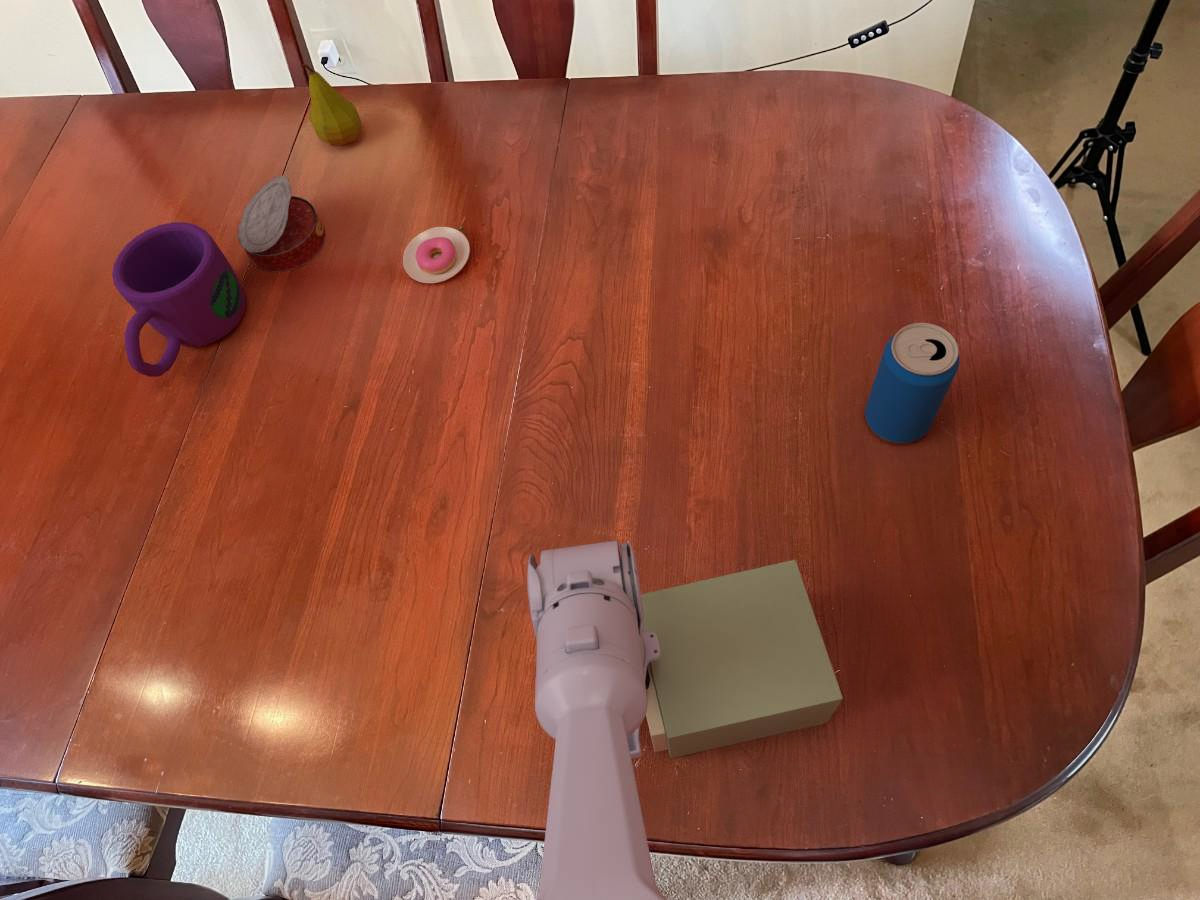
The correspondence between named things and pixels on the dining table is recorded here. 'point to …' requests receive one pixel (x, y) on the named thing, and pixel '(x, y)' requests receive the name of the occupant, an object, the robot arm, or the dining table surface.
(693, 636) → the cabinet
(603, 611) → the robot arm
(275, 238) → the canned food
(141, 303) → the mug
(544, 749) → the dining table surface
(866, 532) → the dining table surface
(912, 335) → the beverage can
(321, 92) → the fruit
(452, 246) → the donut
